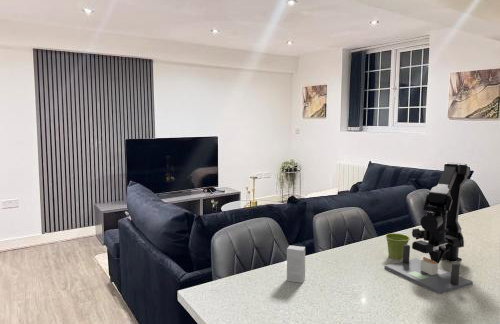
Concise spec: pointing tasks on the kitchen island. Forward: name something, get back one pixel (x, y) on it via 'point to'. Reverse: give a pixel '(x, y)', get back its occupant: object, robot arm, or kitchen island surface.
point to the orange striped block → (429, 266)
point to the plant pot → (396, 244)
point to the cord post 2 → (455, 273)
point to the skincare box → (296, 264)
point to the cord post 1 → (406, 254)
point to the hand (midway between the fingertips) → (434, 266)
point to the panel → (427, 277)
